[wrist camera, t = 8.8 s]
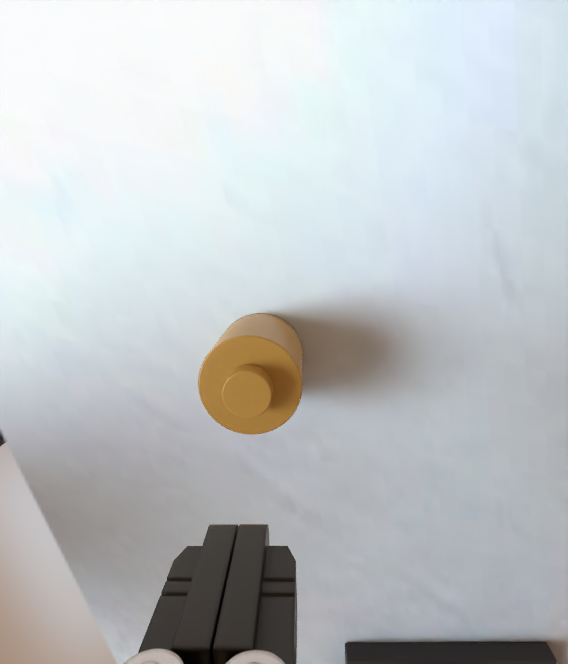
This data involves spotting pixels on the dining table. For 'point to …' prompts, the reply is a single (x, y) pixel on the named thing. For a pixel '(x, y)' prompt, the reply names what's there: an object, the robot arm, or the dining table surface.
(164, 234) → the dining table surface
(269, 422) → the brass weight
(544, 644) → the block
